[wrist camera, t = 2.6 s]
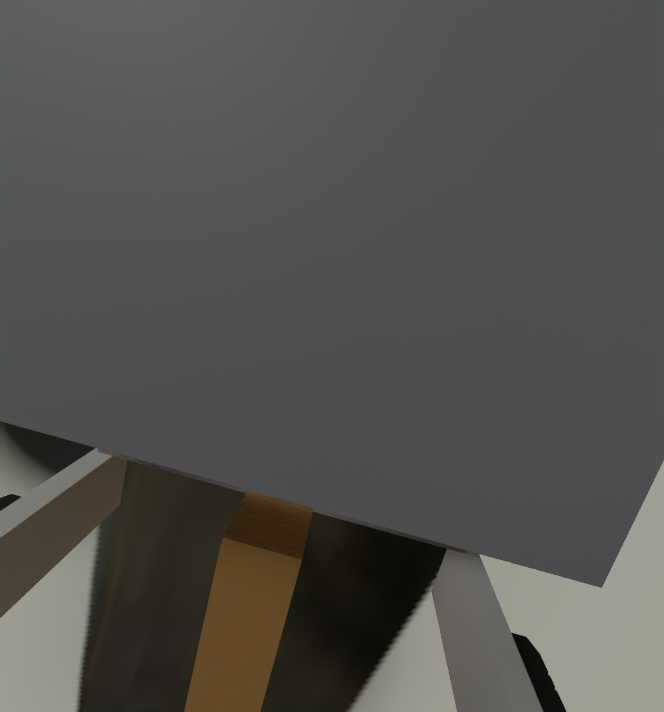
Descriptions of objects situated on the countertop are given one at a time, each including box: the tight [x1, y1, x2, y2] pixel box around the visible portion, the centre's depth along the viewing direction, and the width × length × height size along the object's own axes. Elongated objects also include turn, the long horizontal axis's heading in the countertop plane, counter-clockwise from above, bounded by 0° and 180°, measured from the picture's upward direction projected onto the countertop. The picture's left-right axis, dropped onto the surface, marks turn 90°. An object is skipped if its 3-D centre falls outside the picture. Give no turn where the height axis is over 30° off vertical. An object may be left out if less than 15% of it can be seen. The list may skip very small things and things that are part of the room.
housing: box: [0, 0, 664, 587], centre depth 14 cm, size 14×14×14 cm
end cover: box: [98, 448, 467, 712], centre depth 13 cm, size 19×10×10 cm, turn 166°
